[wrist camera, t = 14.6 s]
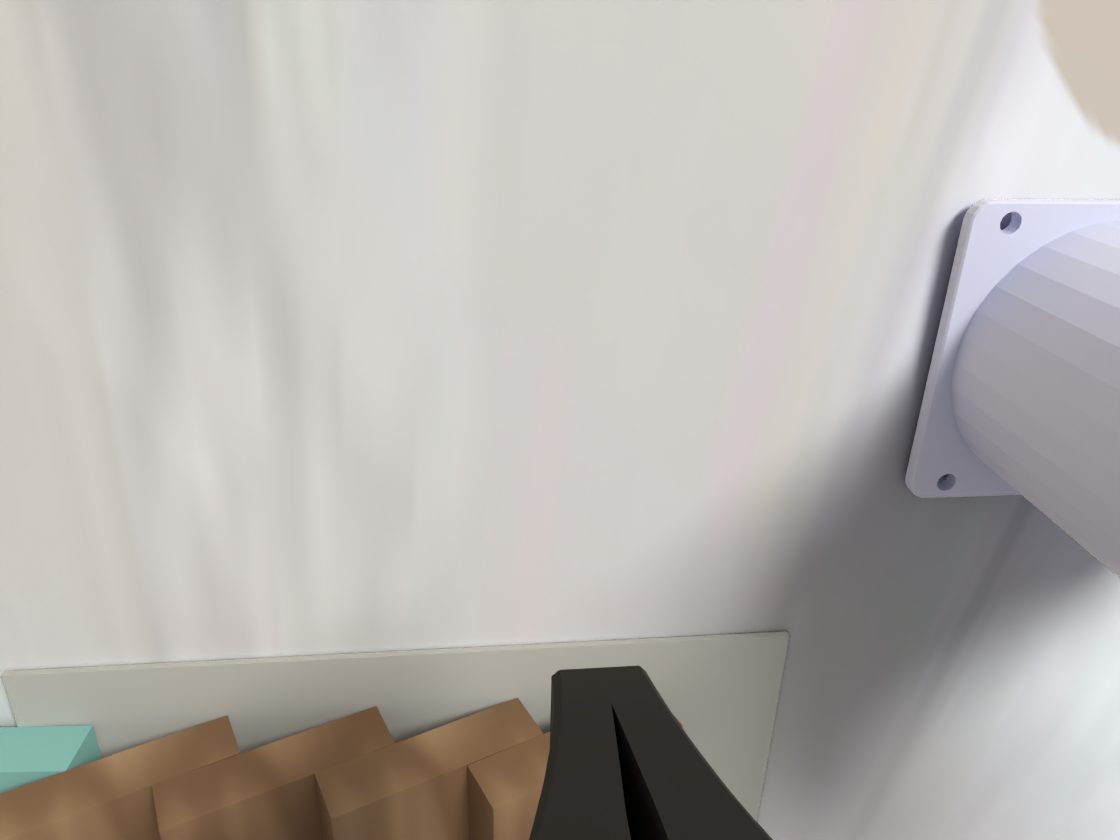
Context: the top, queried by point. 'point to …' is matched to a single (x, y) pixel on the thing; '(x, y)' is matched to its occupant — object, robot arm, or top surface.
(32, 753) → the tile
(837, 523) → the top surface
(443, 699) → the runner mat
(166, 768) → the tile
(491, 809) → the tile
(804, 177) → the top surface
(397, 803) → the tile
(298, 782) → the tile
